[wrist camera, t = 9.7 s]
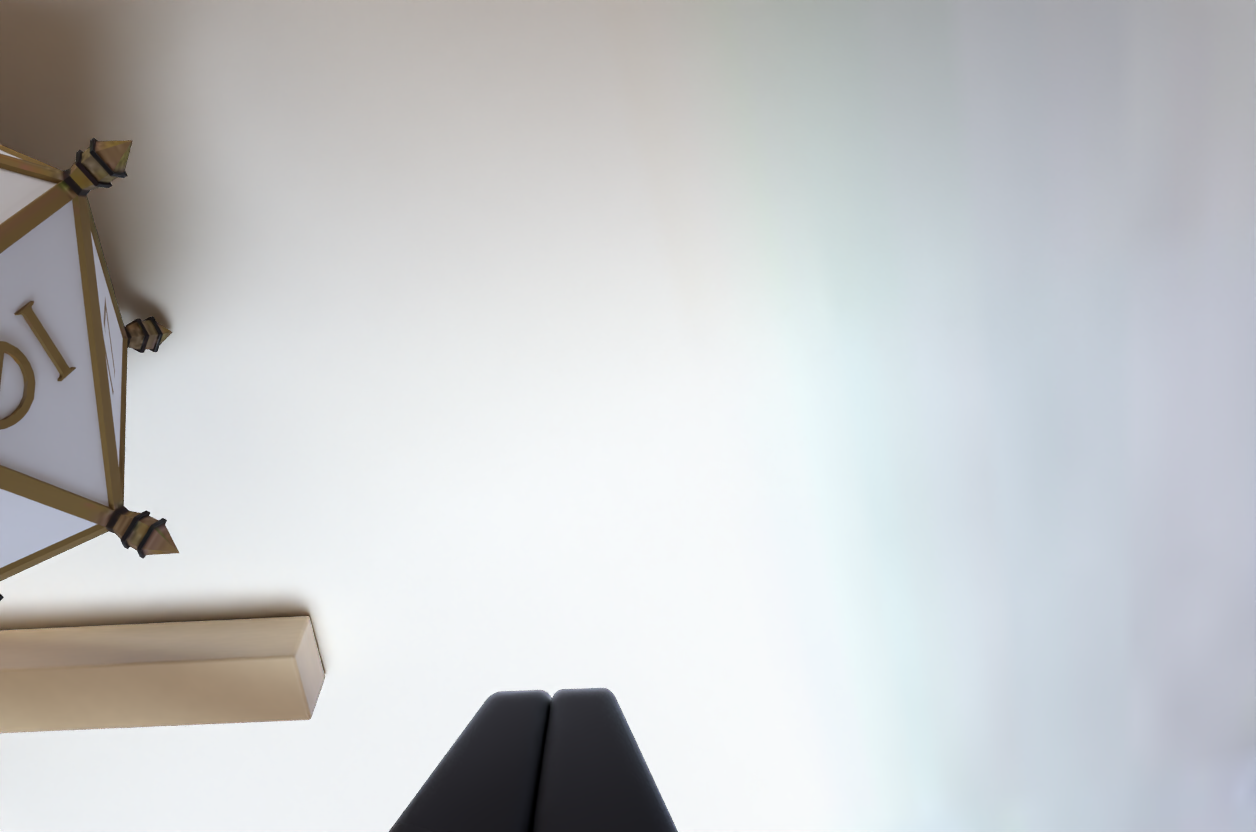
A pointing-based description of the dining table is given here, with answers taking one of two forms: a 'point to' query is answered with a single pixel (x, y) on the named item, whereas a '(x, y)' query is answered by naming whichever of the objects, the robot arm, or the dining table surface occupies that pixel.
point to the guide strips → (159, 674)
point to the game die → (63, 366)
